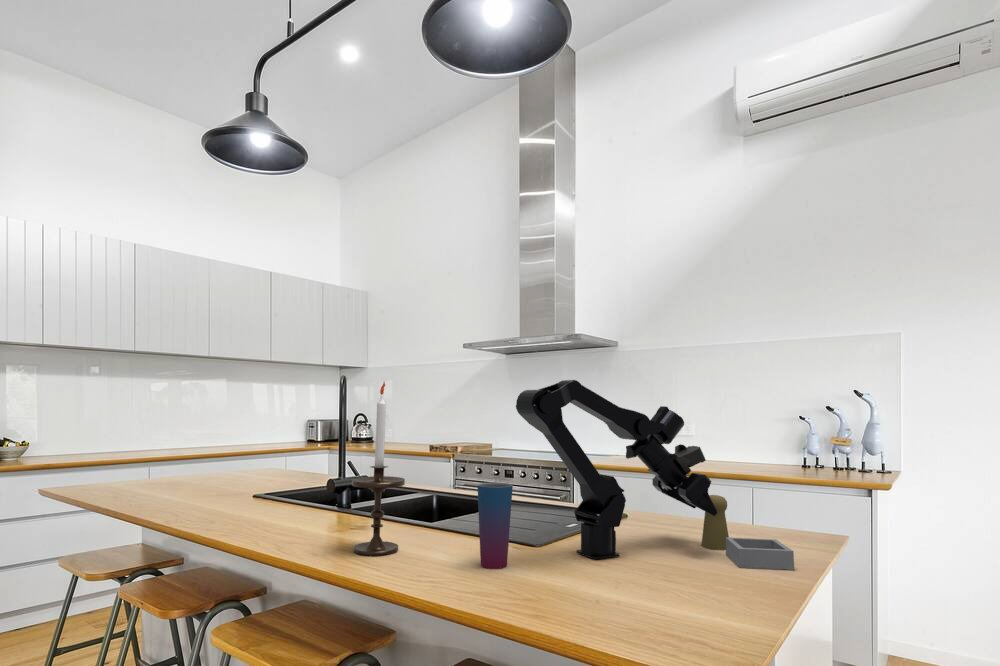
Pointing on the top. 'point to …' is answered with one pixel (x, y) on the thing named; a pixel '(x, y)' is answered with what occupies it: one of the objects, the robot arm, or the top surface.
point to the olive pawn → (715, 526)
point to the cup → (494, 523)
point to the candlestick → (378, 490)
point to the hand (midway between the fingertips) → (705, 510)
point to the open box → (759, 553)
